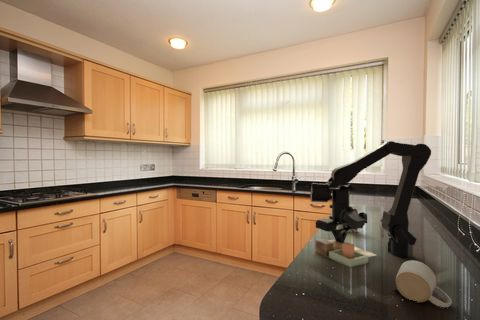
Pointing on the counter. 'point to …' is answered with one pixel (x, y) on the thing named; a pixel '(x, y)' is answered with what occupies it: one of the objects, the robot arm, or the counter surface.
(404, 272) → the ceramic mug
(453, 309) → the counter surface
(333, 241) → the light brown wooden block
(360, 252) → the board
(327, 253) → the brown block
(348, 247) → the reddish orange cube
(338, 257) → the tray
